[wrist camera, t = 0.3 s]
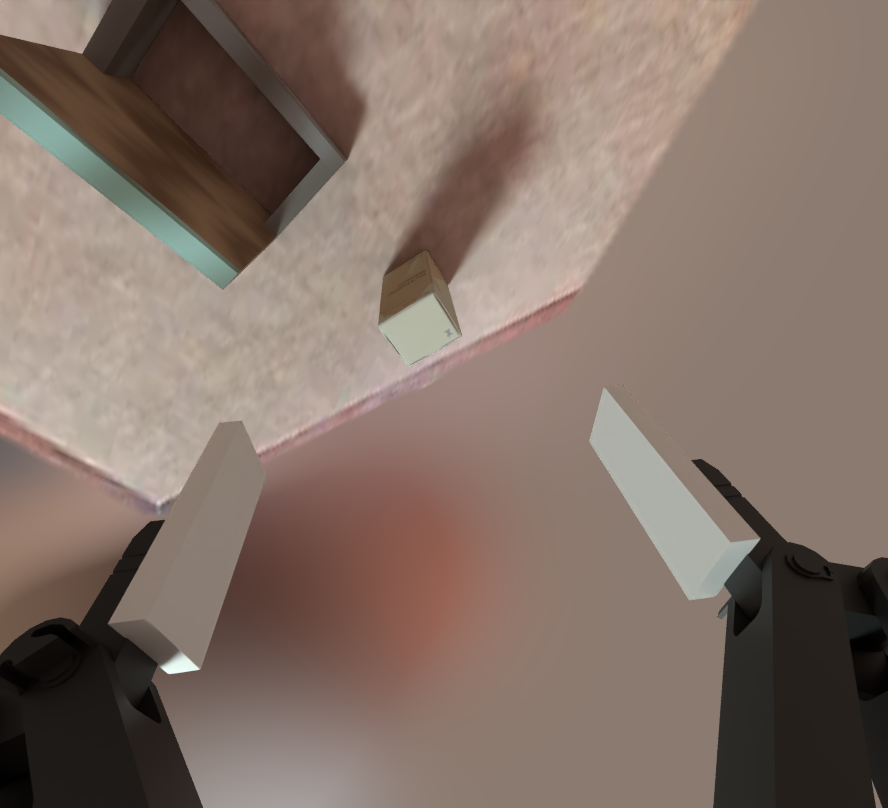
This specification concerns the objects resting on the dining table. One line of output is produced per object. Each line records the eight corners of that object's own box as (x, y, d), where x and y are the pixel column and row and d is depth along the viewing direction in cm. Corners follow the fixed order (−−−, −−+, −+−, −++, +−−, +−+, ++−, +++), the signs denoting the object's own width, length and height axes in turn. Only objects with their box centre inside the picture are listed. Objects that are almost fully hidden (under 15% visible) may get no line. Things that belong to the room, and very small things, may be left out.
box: (426, 248, 35) (438, 288, 27) (449, 287, 38) (466, 336, 29) (379, 278, 37) (375, 326, 28) (404, 314, 39) (408, 369, 30)
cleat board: (100, 78, 27) (-81, 49, 16) (175, -48, 24) (12, -179, 14) (273, 240, 34) (222, 289, 24) (348, 158, 31) (326, 174, 21)
